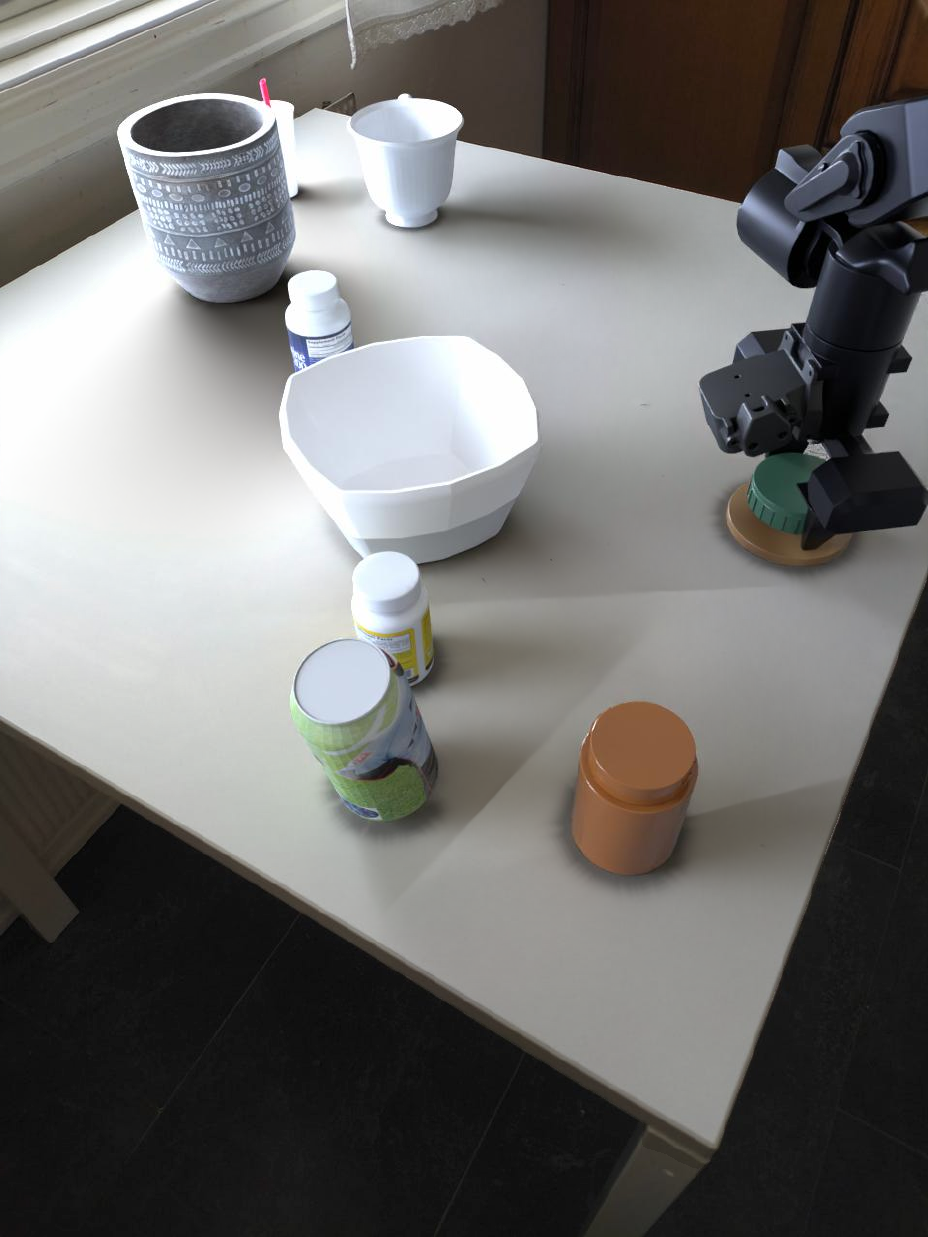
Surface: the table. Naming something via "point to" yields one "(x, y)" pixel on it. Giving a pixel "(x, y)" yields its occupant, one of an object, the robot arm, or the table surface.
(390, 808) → the beverage can
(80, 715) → the table surface
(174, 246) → the planter
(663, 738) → the jam jar
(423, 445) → the bowl
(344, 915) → the table surface
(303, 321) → the pill bottle
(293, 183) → the cup
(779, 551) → the coaster
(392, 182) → the teacup
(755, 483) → the jar lid
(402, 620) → the supplement bottle
